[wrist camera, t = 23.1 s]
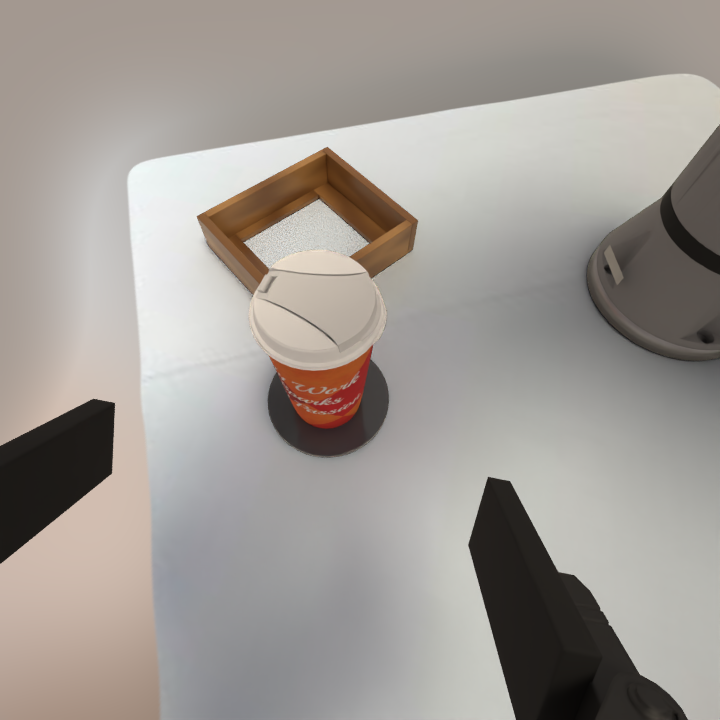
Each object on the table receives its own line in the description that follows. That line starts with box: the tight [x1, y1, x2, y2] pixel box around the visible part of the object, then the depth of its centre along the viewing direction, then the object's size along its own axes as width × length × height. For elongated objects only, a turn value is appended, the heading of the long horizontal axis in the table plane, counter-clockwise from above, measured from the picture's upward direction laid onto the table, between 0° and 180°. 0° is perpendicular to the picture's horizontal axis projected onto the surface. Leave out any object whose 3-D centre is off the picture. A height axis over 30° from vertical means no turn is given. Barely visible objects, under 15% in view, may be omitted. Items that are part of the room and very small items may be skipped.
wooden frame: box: [197, 147, 418, 295], centre depth 42 cm, size 16×14×4 cm
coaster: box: [268, 359, 389, 458], centre depth 36 cm, size 10×10×1 cm
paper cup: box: [249, 250, 387, 429], centre depth 30 cm, size 8×8×14 cm
